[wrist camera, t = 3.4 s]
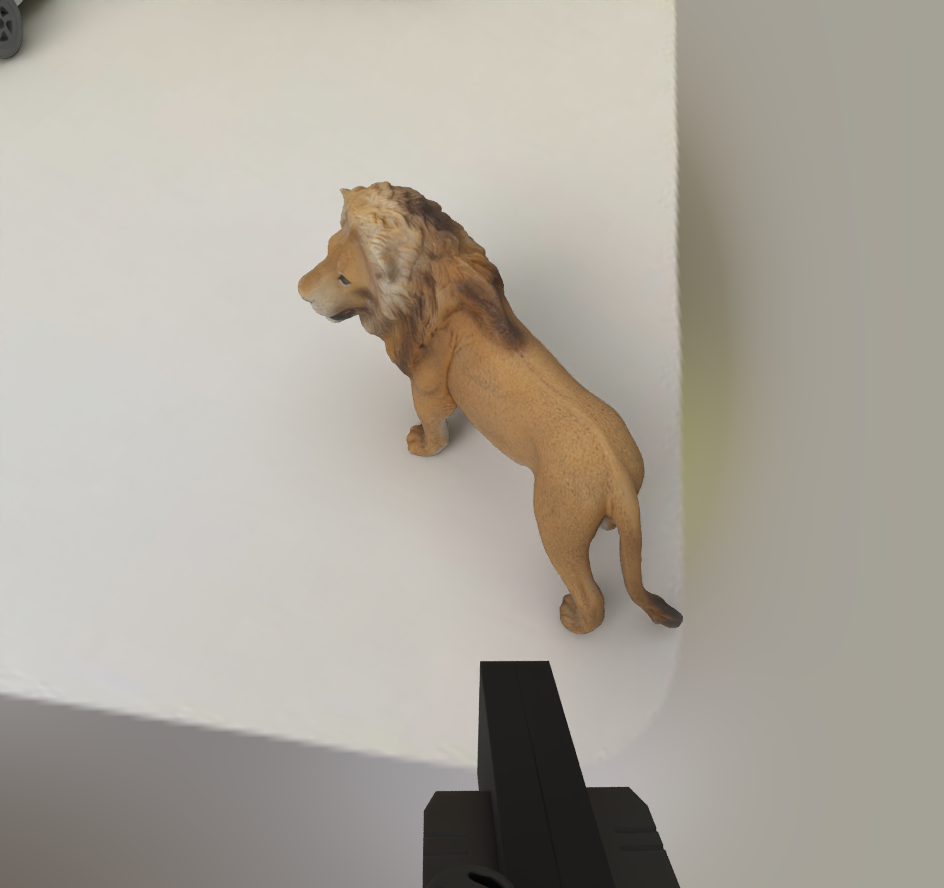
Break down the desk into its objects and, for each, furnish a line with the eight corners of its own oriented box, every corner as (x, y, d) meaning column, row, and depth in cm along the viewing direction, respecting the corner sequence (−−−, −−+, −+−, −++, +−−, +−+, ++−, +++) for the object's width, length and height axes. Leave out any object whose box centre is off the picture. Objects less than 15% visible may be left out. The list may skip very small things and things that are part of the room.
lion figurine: (304, 403, 29) (259, 208, 21) (410, 324, 31) (403, 122, 23) (626, 689, 24) (721, 569, 16) (725, 570, 26) (848, 415, 18)
